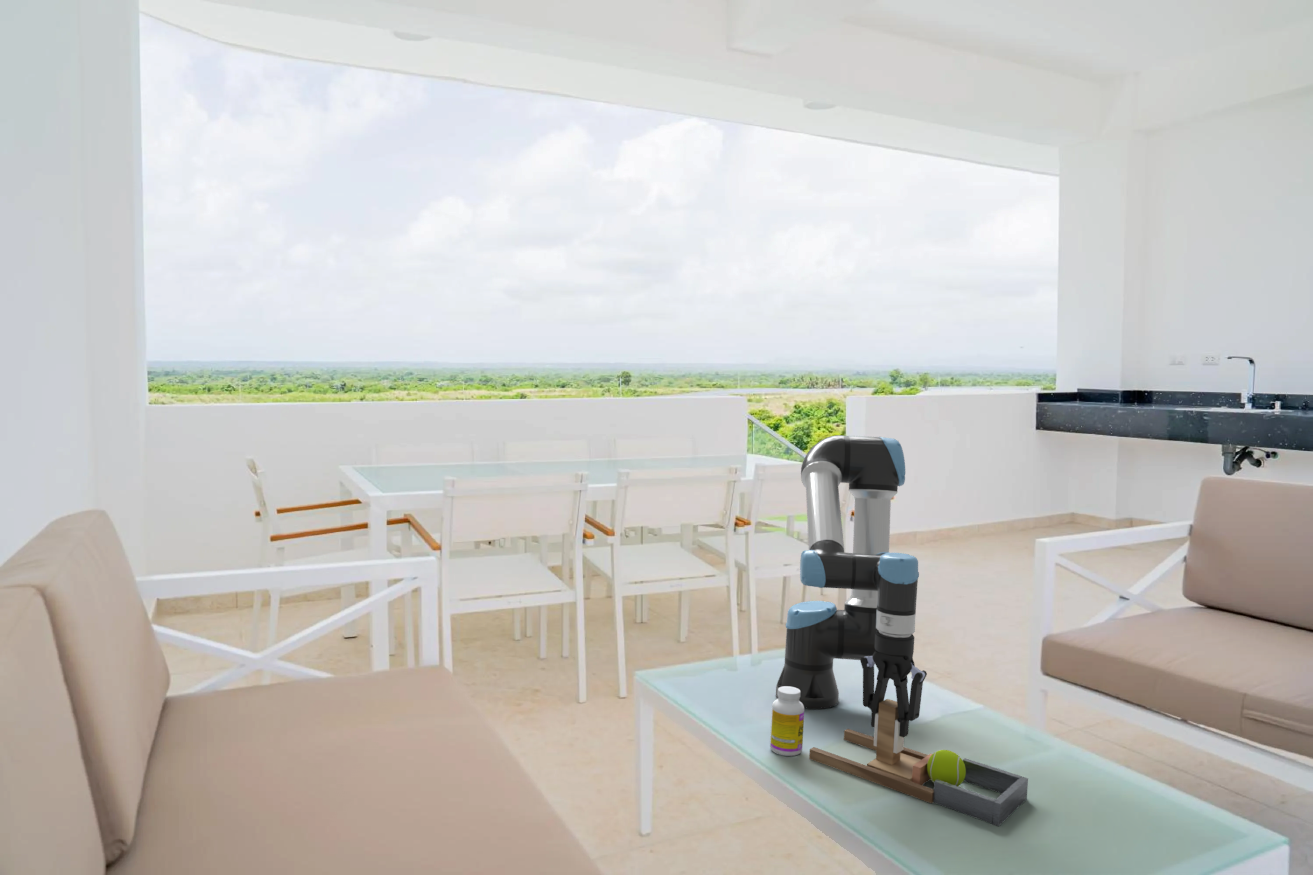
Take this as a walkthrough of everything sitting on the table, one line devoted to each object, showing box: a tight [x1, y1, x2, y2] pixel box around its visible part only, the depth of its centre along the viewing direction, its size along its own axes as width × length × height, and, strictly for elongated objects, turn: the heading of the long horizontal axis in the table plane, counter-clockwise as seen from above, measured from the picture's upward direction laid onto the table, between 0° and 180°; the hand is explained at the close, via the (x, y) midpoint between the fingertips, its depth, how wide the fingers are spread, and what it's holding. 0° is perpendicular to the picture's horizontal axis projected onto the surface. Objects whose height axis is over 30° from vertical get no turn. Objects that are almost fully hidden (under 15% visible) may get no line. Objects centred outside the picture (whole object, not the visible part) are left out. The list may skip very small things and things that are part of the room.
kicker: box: [866, 698, 933, 786], centre depth 170 cm, size 10×10×13 cm
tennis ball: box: [927, 749, 966, 787], centre depth 164 cm, size 7×7×7 cm
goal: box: [932, 758, 1029, 827], centre depth 160 cm, size 14×12×4 cm
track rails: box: [808, 728, 934, 804], centre depth 173 cm, size 16×26×2 cm, turn 48°
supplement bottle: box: [769, 686, 805, 757], centre depth 179 cm, size 7×7×13 cm
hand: (888, 747), depth 172 cm, fingers closed on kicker, 4 cm apart
